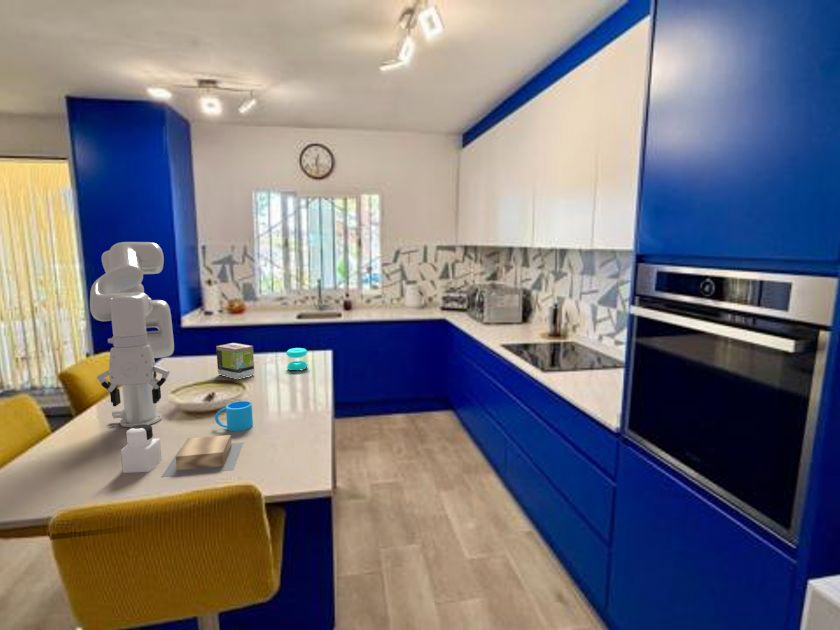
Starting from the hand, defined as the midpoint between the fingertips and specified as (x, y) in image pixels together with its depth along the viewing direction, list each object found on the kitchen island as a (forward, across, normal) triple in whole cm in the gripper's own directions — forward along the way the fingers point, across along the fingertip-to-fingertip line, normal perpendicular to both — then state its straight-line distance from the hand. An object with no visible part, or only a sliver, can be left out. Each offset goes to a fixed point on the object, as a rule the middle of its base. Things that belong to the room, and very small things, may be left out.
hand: (136, 403), depth 123 cm
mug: (+19, +20, +25) cm, 37 cm away
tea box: (+18, +10, +92) cm, 94 cm away
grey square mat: (+19, +16, +2) cm, 25 cm away
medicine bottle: (+19, 0, +1) cm, 19 cm away
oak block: (+18, +16, +2) cm, 24 cm away
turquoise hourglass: (+18, +38, +98) cm, 106 cm away
